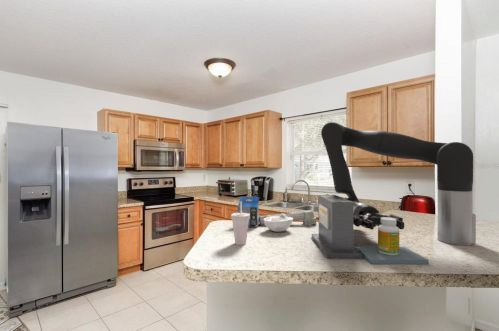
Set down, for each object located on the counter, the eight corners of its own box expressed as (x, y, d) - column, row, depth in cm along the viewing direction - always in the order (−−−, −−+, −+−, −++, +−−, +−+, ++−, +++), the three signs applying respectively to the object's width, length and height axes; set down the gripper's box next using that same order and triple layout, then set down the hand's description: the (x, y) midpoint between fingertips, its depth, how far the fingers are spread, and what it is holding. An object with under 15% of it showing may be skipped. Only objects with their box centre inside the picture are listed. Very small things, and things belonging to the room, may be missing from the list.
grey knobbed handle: (257, 215, 115) (313, 206, 115) (260, 229, 115) (315, 221, 115) (258, 217, 110) (316, 209, 110) (260, 232, 110) (318, 224, 110)
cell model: (259, 229, 104) (259, 212, 104) (284, 226, 109) (284, 210, 109) (270, 235, 95) (270, 217, 95) (298, 232, 99) (298, 214, 99)
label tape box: (237, 226, 109) (236, 197, 109) (239, 224, 113) (239, 196, 113) (257, 227, 107) (257, 198, 107) (259, 225, 111) (258, 196, 111)
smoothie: (253, 241, 88) (252, 200, 88) (245, 247, 82) (244, 203, 82) (236, 239, 90) (236, 199, 90) (227, 244, 85) (227, 202, 85)
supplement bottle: (391, 257, 70) (391, 221, 70) (373, 251, 74) (373, 217, 74) (403, 253, 72) (403, 219, 72) (385, 248, 77) (385, 215, 77)
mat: (404, 249, 78) (404, 246, 78) (428, 263, 67) (428, 260, 67) (354, 249, 79) (354, 246, 79) (370, 263, 68) (370, 259, 68)
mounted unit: (339, 237, 91) (339, 194, 91) (363, 258, 71) (363, 203, 71) (311, 237, 92) (311, 194, 91) (327, 258, 72) (326, 203, 71)
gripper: (343, 204, 90) (362, 213, 74) (384, 203, 90) (412, 212, 74) (343, 225, 90) (362, 239, 74) (384, 225, 90) (412, 238, 74)
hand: (387, 226), depth 74 cm, fingers open, 8 cm apart
